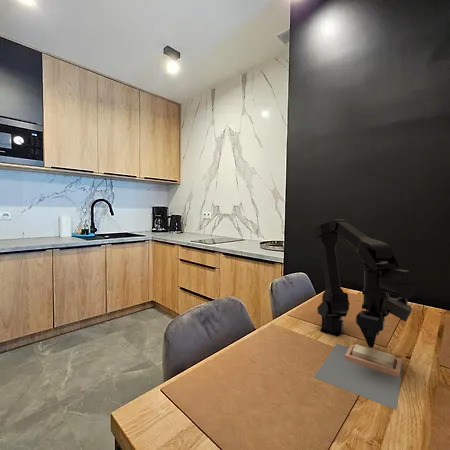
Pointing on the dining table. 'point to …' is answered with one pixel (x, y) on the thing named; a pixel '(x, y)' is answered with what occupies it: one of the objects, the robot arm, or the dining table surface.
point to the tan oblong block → (373, 356)
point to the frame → (374, 365)
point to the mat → (360, 378)
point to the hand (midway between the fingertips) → (373, 340)
